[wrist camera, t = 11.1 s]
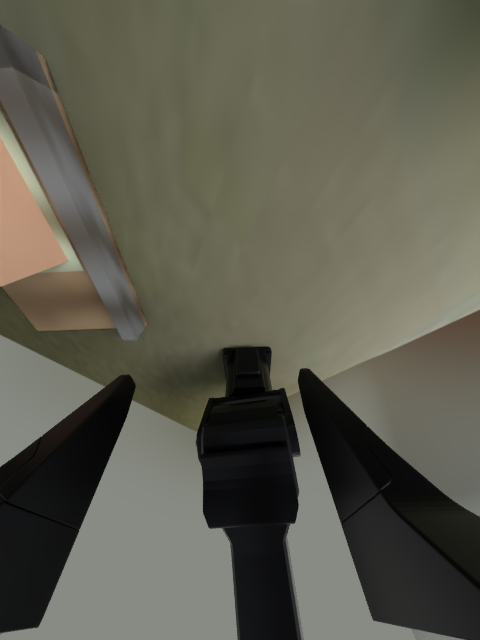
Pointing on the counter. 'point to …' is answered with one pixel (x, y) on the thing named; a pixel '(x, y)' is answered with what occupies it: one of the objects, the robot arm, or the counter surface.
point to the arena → (61, 207)
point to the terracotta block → (22, 228)
